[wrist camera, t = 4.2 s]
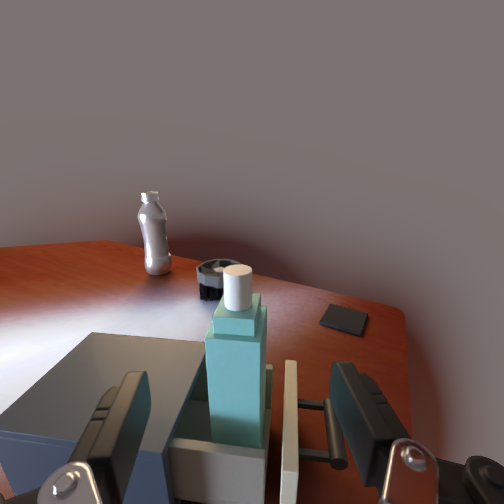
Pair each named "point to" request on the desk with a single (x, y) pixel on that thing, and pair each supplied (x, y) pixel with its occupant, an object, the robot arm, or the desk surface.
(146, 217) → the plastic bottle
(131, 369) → the cabinet
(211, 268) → the cpu cooler
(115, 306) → the desk surface
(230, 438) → the soap bottle
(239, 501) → the drawer
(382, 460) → the robot arm
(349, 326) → the mat
